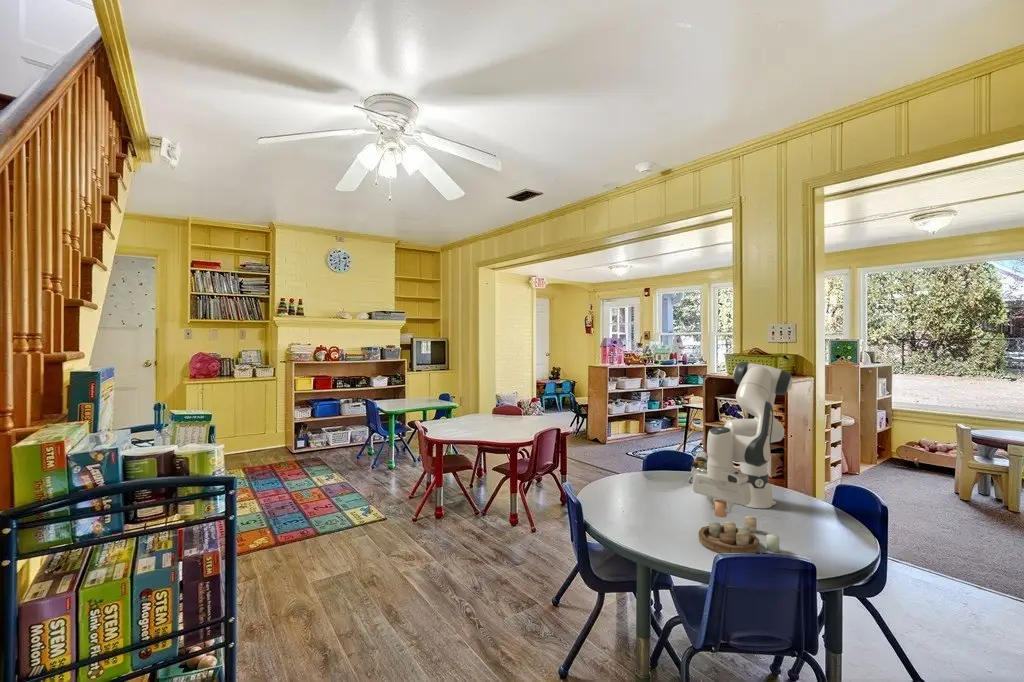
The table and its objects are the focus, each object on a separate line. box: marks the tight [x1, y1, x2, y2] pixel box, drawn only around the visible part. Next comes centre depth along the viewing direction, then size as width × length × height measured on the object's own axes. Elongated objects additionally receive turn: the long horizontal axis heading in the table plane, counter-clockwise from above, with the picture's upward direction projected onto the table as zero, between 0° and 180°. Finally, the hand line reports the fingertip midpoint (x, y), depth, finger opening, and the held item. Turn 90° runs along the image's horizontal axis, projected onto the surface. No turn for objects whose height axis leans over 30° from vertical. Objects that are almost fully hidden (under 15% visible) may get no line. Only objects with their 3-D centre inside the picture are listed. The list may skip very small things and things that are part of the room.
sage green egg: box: [766, 533, 781, 554], centre depth 166 cm, size 4×4×5 cm
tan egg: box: [744, 515, 757, 534], centre depth 183 cm, size 4×4×5 cm
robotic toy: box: [685, 450, 708, 483], centre depth 248 cm, size 13×17×15 cm
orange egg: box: [714, 499, 728, 518], centre depth 167 cm, size 4×4×5 cm
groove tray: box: [698, 521, 760, 554], centre depth 171 cm, size 20×20×6 cm
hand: (720, 511), depth 167 cm, fingers closed on orange egg, 4 cm apart
